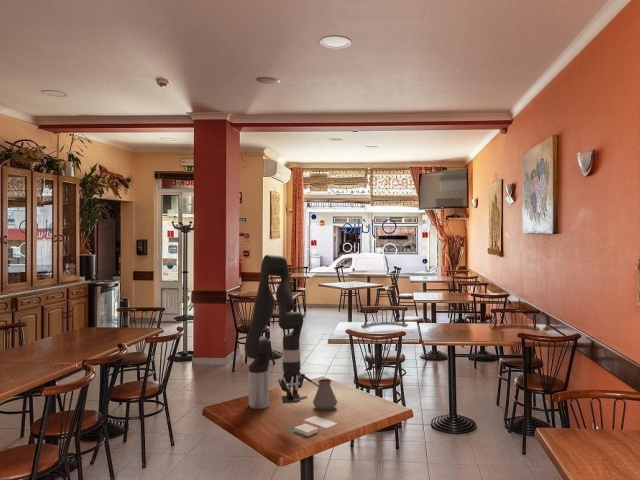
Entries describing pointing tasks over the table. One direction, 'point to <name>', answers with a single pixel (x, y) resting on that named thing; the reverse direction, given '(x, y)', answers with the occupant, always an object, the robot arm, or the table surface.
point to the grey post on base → (293, 398)
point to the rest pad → (320, 421)
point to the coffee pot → (324, 395)
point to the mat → (292, 430)
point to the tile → (306, 429)
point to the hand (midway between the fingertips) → (292, 399)
